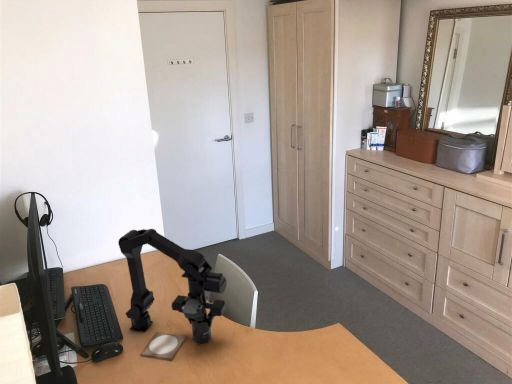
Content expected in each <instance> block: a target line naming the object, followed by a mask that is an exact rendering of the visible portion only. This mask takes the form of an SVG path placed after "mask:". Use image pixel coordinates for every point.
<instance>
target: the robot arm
mask: <svg viewBox="0 0 512 384" xmlns="http://www.w3.org/2000/svg"><path fill="white" fill-rule="evenodd" d="M144 245H148V246H151V247H152V248H153V249H156V250H157V251H159V252H160V253H162V254H163V255H165V256H167V257H169V258H170V259H171V260H173V261H174V262H176V263H177V265H178V266H179V268H180V269H181V270H182V271H183V273H182V274H181V278H186V279H187V285H188V293H187V296H186V295H180V294H179V295H178V294H177V296H176V297H175V298H174V299H173V301H172V303H171V309H172V311H175V312H176V311H177V312H178V313H182V314H183V315H184V317H185V318H186V319H187V320H188V322H189V324H190V325H191V319H197V318H198V316H200V315H203V314H204V311H205V309H206V310H208V312H207V316H208V317H209V327H212V324H213V322H214V319H215V317H221V316H223V314H224V312H225V310H226V308H227V302H226V301H225V300H221V299H214V301H213V302H207V301H208V299H209V297H208V296H207V292H210V293H216V294H224V292H225V291H226V288H227V278H226V276H224V274H223V272H221V273H220V272H218V273H217V272H211V271H212V270H213V267H212V266H211V265H210V264H209V262H208V261H207V260H206V258H205V256H204V254H202V253H201V252H199V251H197V250H194V249H189V248H188V249H187V248H184V247H182V246H180V245H178V244H177V243H175V242H173V241H172V240H170V239H168V238H167V237H165V236H163V235H162V234H161V233H159V232H157V230H156V229H155V228H149V229H145V228H143V229H139V230H136V229H131V230H129V231H128V232H126V233H125V234H124V235H123V236H121V237H120V238H119V239H118V246H119V250H120V253H121V254H122V255H123V256H124V257H125V258H126V262H127V268H128V272H129V277H130V284H131V288H132V293H131V298H130V301H129V302H130V308H129V309H128V310H127V311H126V312H125V315H126V318H128V319H130V321H131V322H130V323H131V327H130V328H129V330H130V331H134V332H135V331H136V332H141V333H145V332H146V331H147V330H148V329H149V328H150V327H151V325H152V324H153V320H151V315H150V311H149V309H150V308H151V306H152V305H153V304H154V301H155V297H154V292H153V290H149V289H148V288H147V284H146V279H145V273H144V268H143V262H142V256H141V254H142V253H141V252H142V250H143V247H144ZM202 268H203V269H202Z"/></svg>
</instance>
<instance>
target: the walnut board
mask: <svg viewBox="0 0 512 384" xmlns="http://www.w3.org/2000/svg"><path fill="white" fill-rule="evenodd" d="M186 340H187V336H186V335H180V334H176V333H175V334H174V333H173V334H172V333H167V332H166V333H165V332H161V331H156V332H155V333H154V334H153V336H152V337H151V338H150V340H149V341H148V342H147V344H146V345H145V346H144V348H143V349H142V350H141V352H140V356H141V357H146V358H152V359H158V360H162V361H169V362H172V361H173V360H175V359H174V358H175V357H176V355H177V353H179V351H180V349H181V347H182V346H183V345H184V343H185V341H186Z"/></svg>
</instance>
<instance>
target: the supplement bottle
mask: <svg viewBox="0 0 512 384" xmlns="http://www.w3.org/2000/svg"><path fill="white" fill-rule="evenodd" d="M207 315H208V312H207V309H205V311H204V314H203V315H200V316H198V318H197V319H191V324H190V325H191V333H192V334H191V336H192V341H193V342H194V343H195V344H197V345H205V344H207V343H209V342H210V341H211V340H212V328H211V327H212V326H211V327H209V317H208V316H207Z"/></svg>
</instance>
